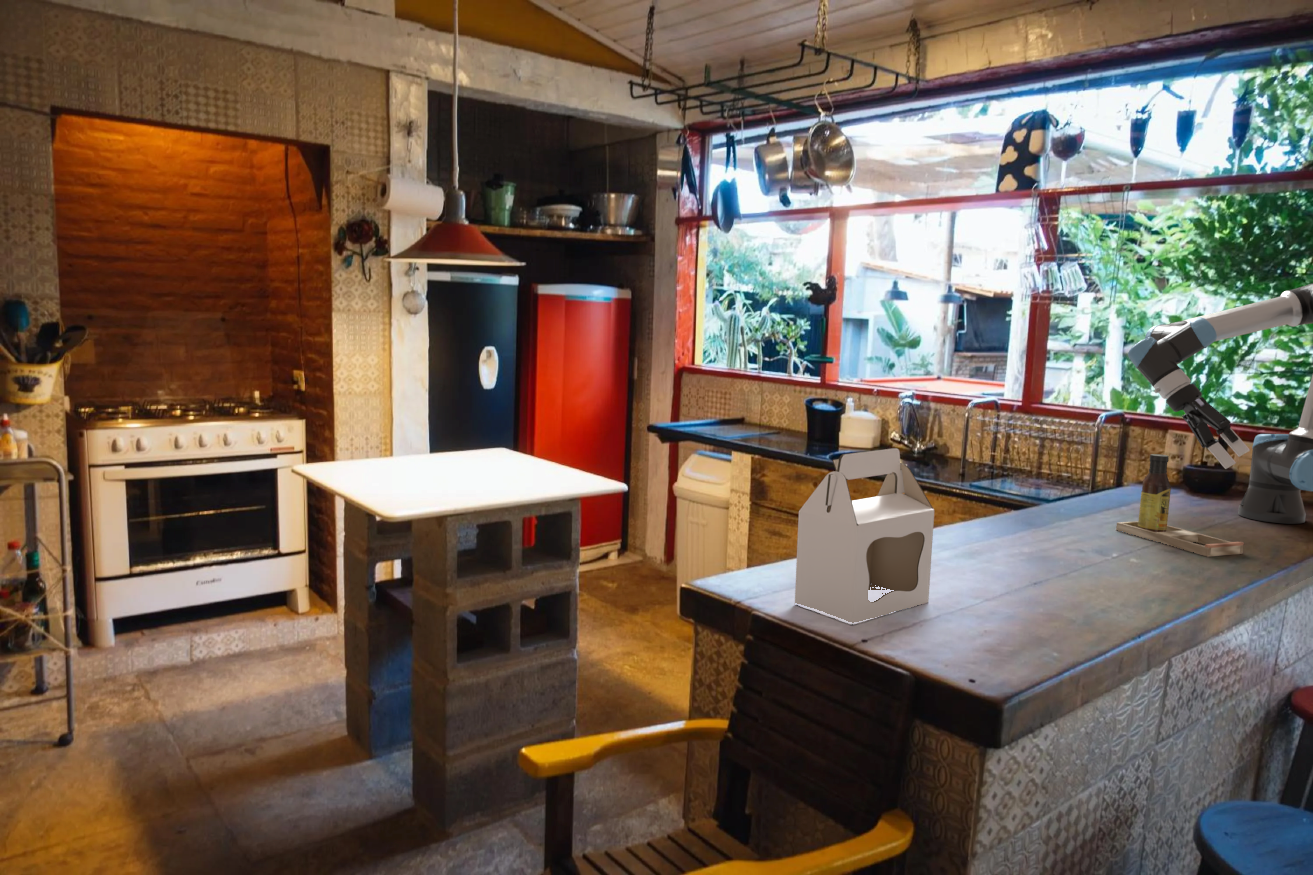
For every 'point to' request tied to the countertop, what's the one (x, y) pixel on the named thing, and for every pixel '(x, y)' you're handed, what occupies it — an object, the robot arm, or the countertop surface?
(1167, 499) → the sauce bottle
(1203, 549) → the bottle rack
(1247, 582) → the countertop surface
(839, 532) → the gable box
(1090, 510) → the countertop surface
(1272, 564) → the countertop surface
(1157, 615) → the countertop surface
